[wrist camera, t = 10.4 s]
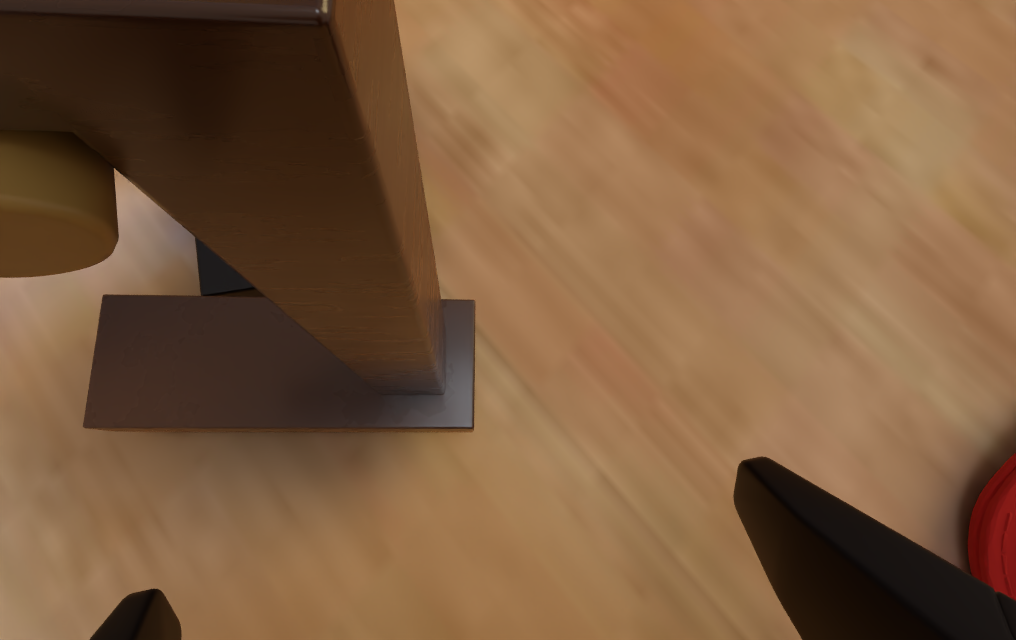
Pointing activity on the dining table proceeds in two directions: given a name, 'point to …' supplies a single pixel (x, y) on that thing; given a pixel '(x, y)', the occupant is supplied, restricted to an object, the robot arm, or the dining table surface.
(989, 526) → the tracker holder
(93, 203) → the coat rack
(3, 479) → the dining table surface
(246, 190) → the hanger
